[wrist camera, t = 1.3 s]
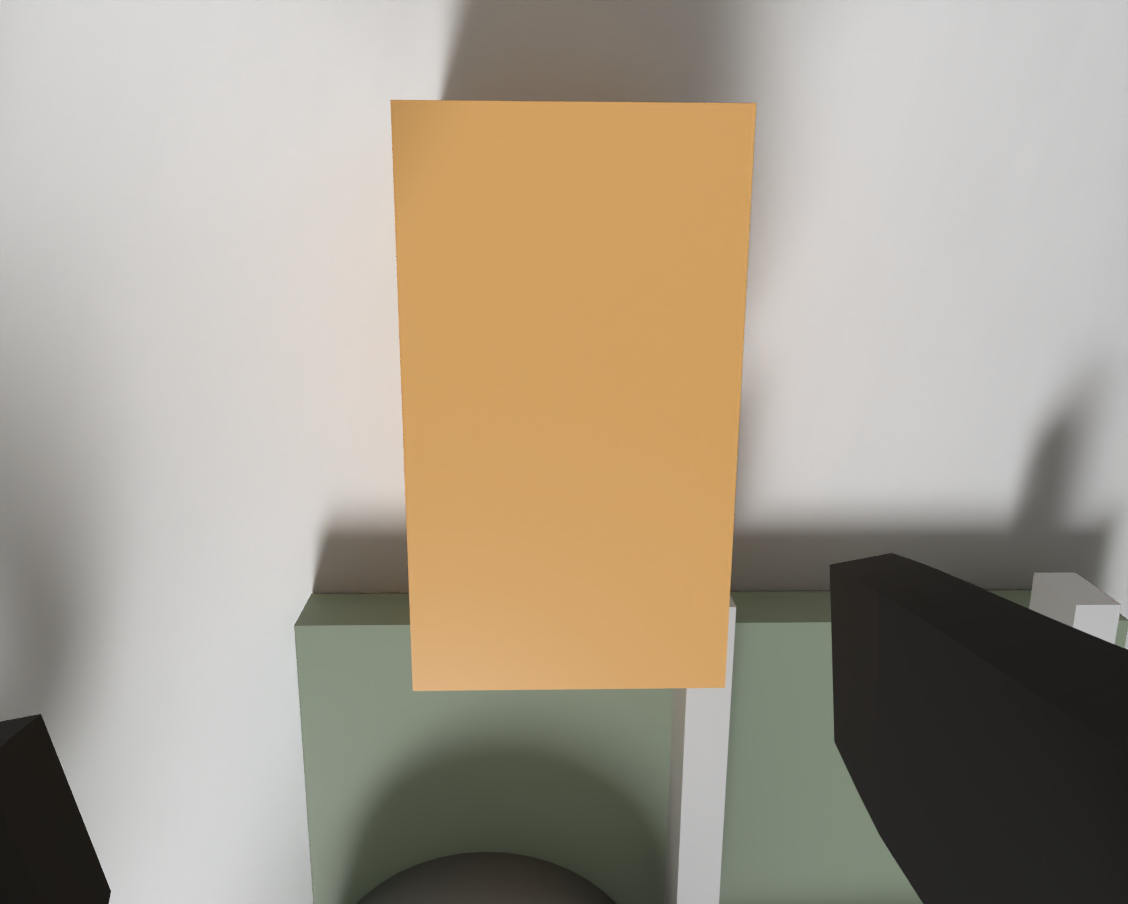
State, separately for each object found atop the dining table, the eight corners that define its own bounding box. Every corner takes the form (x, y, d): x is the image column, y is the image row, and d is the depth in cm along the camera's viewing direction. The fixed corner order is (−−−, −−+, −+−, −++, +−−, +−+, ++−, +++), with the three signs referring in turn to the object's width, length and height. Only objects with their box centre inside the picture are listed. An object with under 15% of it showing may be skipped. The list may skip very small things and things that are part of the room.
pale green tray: (1093, 543, 20) (1248, 643, 16) (1013, 1054, 24) (1122, 1250, 19) (308, 547, 20) (245, 650, 15) (341, 1068, 23) (297, 1273, 19)
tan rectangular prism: (683, 130, 18) (756, 103, 12) (669, 543, 20) (724, 687, 14) (436, 128, 18) (390, 100, 12) (447, 544, 20) (413, 690, 14)
